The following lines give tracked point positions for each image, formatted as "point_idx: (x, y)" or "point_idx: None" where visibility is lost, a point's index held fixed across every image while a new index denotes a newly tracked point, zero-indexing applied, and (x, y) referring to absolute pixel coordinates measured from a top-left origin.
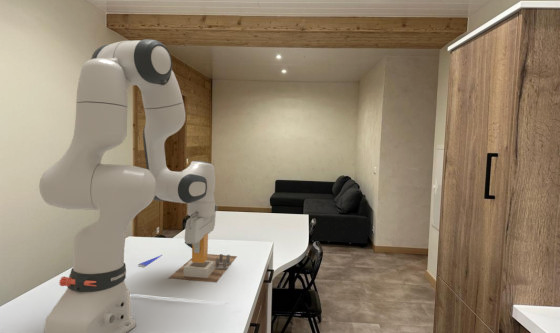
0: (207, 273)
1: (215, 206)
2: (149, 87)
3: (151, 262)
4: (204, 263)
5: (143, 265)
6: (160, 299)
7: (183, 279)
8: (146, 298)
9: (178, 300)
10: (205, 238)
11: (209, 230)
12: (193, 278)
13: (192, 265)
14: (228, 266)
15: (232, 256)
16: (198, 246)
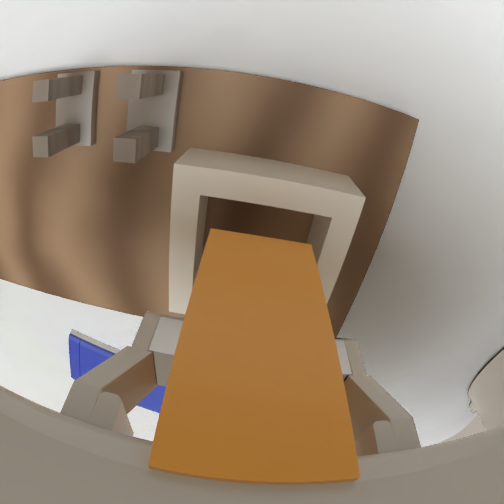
0: (352, 184)
1: None
2: None
3: (152, 399)
4: (198, 230)
5: None
6: (471, 311)
7: (357, 289)
8: (450, 343)
9: (497, 261)
10: (297, 433)
11: (42, 452)
12: (349, 248)
13: None
14: (113, 69)
15: None
16: (380, 392)
